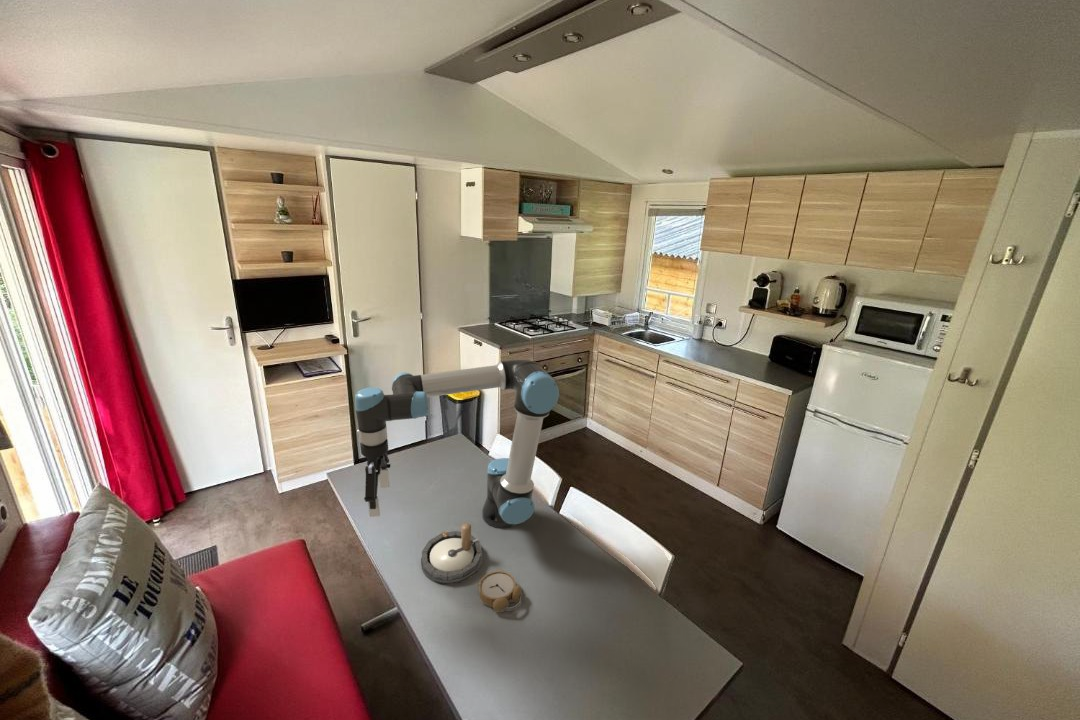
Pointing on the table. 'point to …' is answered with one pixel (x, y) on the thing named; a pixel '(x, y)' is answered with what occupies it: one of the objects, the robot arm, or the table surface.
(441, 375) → the robot arm
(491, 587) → the alarm clock
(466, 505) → the table surface
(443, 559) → the dial
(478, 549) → the housing
